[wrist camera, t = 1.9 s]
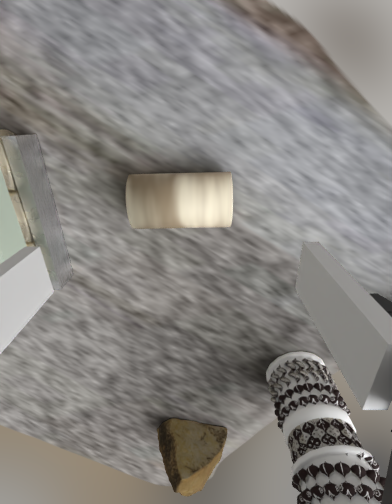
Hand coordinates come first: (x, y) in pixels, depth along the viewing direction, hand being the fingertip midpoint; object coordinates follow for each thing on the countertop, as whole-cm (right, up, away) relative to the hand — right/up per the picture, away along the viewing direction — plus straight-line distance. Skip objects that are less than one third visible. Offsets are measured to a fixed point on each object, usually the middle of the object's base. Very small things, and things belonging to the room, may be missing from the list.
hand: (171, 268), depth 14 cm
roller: (0, +7, +13) cm, 15 cm away
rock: (+1, -28, +31) cm, 42 cm away
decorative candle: (+16, -16, +25) cm, 33 cm away
